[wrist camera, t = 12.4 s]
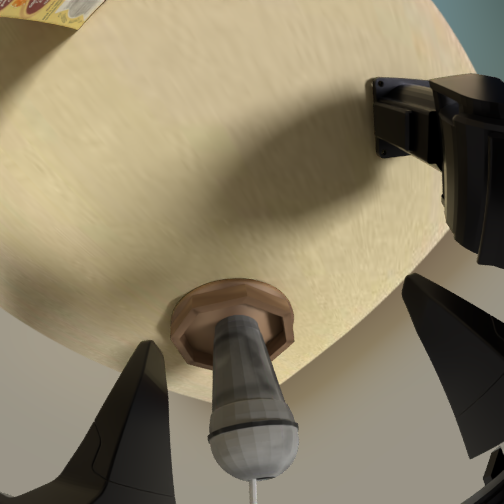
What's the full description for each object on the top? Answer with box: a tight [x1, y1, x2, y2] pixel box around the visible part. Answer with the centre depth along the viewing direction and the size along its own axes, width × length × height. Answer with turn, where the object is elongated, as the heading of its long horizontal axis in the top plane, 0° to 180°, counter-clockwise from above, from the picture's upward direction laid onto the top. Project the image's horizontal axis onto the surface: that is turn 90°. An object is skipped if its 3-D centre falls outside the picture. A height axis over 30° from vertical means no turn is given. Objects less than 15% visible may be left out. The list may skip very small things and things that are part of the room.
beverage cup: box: [208, 315, 299, 504], centre depth 20 cm, size 7×7×20 cm
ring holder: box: [170, 279, 294, 370], centre depth 27 cm, size 13×13×2 cm
